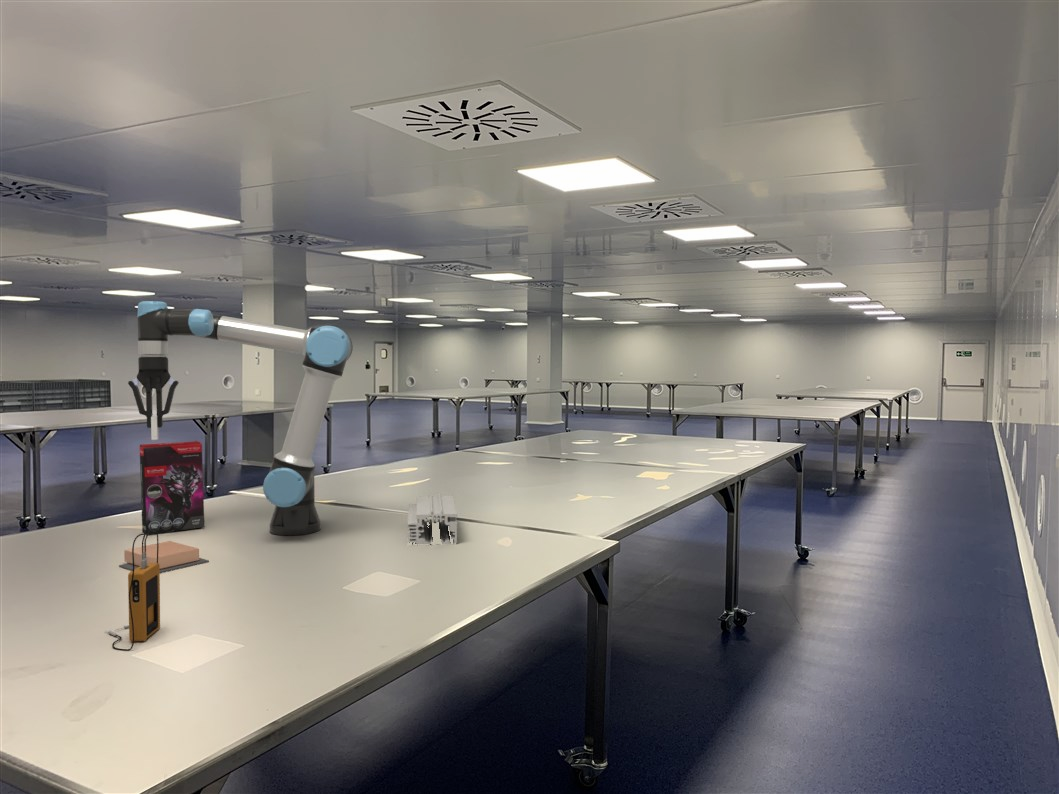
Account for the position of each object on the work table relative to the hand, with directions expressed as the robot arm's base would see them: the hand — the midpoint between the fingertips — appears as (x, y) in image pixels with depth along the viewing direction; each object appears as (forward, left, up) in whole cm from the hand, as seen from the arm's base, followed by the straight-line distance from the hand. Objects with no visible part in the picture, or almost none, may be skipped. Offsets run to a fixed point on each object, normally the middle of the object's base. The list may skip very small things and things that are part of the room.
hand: (155, 439), depth 207 cm
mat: (-5, +24, -30) cm, 39 cm away
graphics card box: (-2, -18, -30) cm, 35 cm away
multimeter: (-4, +77, -30) cm, 83 cm away
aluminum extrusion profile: (-78, +11, -31) cm, 84 cm away
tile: (0, +17, -28) cm, 33 cm away
